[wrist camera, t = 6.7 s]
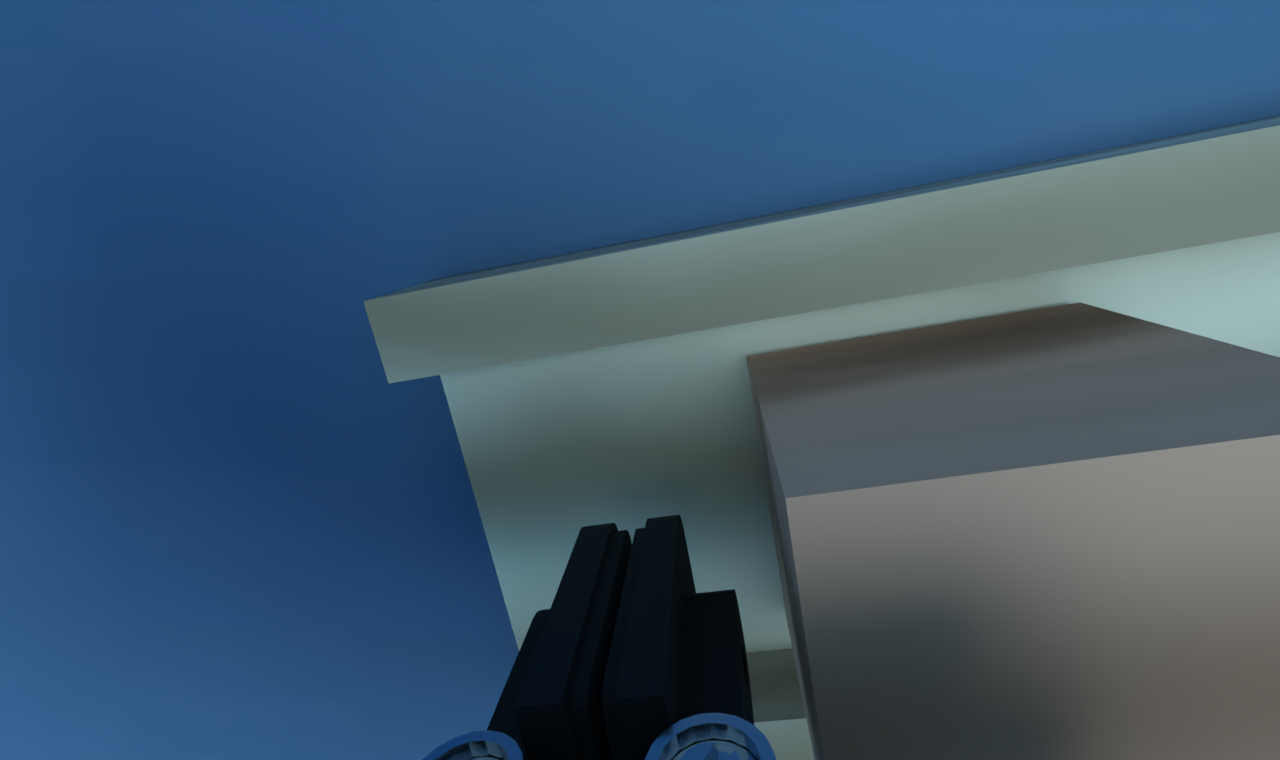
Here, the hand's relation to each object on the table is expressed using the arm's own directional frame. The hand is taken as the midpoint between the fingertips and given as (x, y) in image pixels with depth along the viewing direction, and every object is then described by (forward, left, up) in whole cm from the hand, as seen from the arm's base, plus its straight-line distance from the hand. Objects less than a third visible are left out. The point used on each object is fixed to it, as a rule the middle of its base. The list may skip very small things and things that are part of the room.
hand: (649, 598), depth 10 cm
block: (0, +5, -3) cm, 6 cm away
